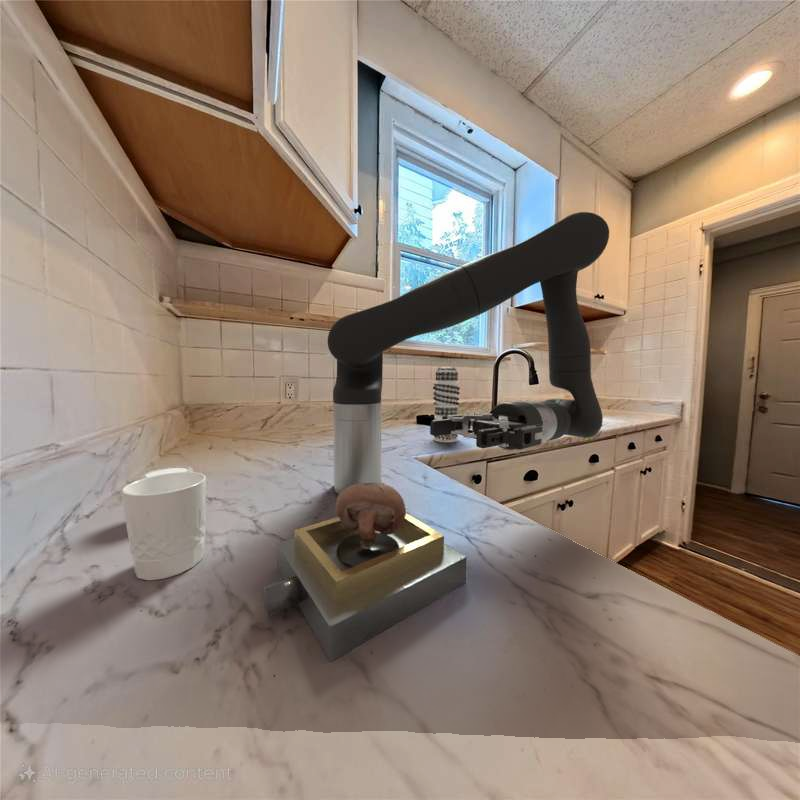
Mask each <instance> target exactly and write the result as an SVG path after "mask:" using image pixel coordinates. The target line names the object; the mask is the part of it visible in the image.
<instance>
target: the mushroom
mask: <svg viewBox="0 0 800 800" xmlns="http://www.w3.org/2000/svg"><path fill="white" fill-rule="evenodd" d="M335 512H336V516H338V517H339V519H340V520H341V523H342V524H343V526H344V527H346V528H347V529H349V530H352V531H353V530H357V529H359V536H360V540H361V541H360V543H361V545H362V547H363V548H364V549H368V550H369V548H370V547H371V545H372V544H374V542H375V540H376V533H375V530H376V531H378V532H380V533H381V534H384V535H390V534H392V533H394V532H396V531H397V530H398V529H399V528H400V527H401V526H402V524H403V522H404V519H405V516H406V513H407V511H406V503H405V501H404V499H403V497H402V495H401V494H400V493H399V492H398V491H397V490H396V489H395V488H394V487H393V486H390V485H389V484H386V483H382V482H381V483H359V484H355V485H351V486H349V487H348V488H346V489H345V490H343V491H342V492H341V493H340V494H338V496H337V499H336V500H335Z"/></svg>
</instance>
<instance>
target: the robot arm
mask: <svg viewBox="0 0 800 800" xmlns="http://www.w3.org/2000/svg"><path fill="white" fill-rule="evenodd" d="M609 239H610V228H609V225H608V223H607V221H606V220H605V218H603V217H602V216H600V215H599V214H597V213H593V212H589V211H579V212H575V213H572V214H568V215H567V216H565V217H563V218H561V220H559V221H557V222H555V223H554V224H552V225H550V226H549V227H547V228H545V229H544V230H542V231H540V232H538V233H536V234H535V235H533V236H531V237H529V238H528V239H525V240H523V241H521V242H520V243H517V244H515V245H511V246H509V247H506V248H504V249H501V250H499V251H496V252H493V253H490V254H488V255H485V256H482V257H480V258H477V259H475V260H473V261H470V262H467V263H465V264H463V265H460V266H458V267H456V268H454V269H451V270H449V271H447V272H444V273H443V274H441V275H438V276H436V277H435V278H433V279H431V280H429V281H426V282H424V283H423V284H421V285H419V286H417V287H415V288H413V289H411V290H409V291H407V292H405V293H404V294H402V295H400V296H398V297H396V298H394V299H392V300H389V301H386V302H383V303H381V304H378V305H374V306H371V307H368V308H366V309H363V310H360V311H357V312H353V313H349V314H347V315H345V316H342V317H340V318H339V319H338V320H337V321H336V322H335V323H334V324H333V325H332V327H331V328H330V329H329V332H328V336H327V348H328V350H329V352H330V354H331V355H332V356H333V357H334V359H335V360H336V379H335V384H334V387H333V390H332V410H333V411H332V414H333V415H332V416H333V420H332V421H333V423H332V424H333V442H332V443H333V487H334V492H335V493H336V494H338V495H339V494H340V493H341V492H342V491H343V490H345V489H346V488H348V487H349V486H351V485H355V484H359V483H382V389H383V369H384V368H383V364H384V362H383V360H384V359H383V357H384V355H383V354H384V353H383V352H385V351H387V350H389V349H391V348H393V347H394V346H396V345H398V344H400V343H401V342H404V341H407V340H409V339H411V338H415V337H418V336H422V335H426V334H428V333H434V332H437V331H441V330H444V329H448V328H451V327H454V326H457V325H460V324H462V323H464V322H466V321H469V320H471V319H473V318H475V317H477V316H480V315H482V314H484V313H486V312H488V311H490V310H492V309H493V308H496V307H497V306H499V305H501V304H503V303H504V302H506V301H508V300H509V299H511V298H512V297H514V296H516V295H518V294H519V293H522V292H523V291H524V290H526V289H528V288H529V287H532V286H533V285H535V284H538V283H539V284H540V288H541V294H542V299H543V306H544V313H545V318H546V329H547V341H548V342H547V343H548V344H547V345H548V371H549V372H548V373H549V374H548V375H549V376H548V377H549V383H550V385H551V386H553V387H554V388H557V389H561V390H565V391H567V392H569V393H570V394H571V396H572V397H573V399H567V398H566V399H564V398H562V399H561V398H550V399H546V400H543V401H534V400H522V401H521V400H520V401H508V402H507V401H505V402H501V403H498V404H496V405H495V406H494V407H493V408H492V409H491V410H490V412H489V413H484V412H483V413H480V414H471V413H461V414H458V413H457V415H444V416H442V420H434V419H433V420H431V421H430V426H429V434H430V435H431V436H433V437H434V436H439V435H446V434H458V435H461V436H462V437H463V438H465V439H473V438H474V439H476V440H475V442H476V443H475V446H476V448H480V449H482V450H483V449H488V448H493V447H498V448H501V449H502V450H506V451H514V450H517V451H519V450H525V449H529V448H531V447H535V446H539V445H541V444H542V443H545V442H548V441H554V440H557V439H560V438H561V437H563V436H572V437H576V438H577V437H579V438H585V439H586V438H588V439H589V438H594V436H596V435H598V433H599V432H600V430H601V428H602V426H603V412H602V409H601V406H600V403H599V400H598V396H597V394H596V391H595V390H596V389H595V388H594V384H593V378H592V372H591V371H592V370H591V368H592V367H591V366H592V363H591V362H592V361H591V360H592V358H591V356H592V355H591V352H592V351H591V341H590V337H589V331H588V330H587V327H586V324H585V321H584V318H583V317H582V314H581V311H580V307H579V303H578V297H577V282H578V281H577V280H578V275H579V272H580V271H582V270H584V269H586V268H588V267H589V266H591V265H592V264H593V263H595V262H596V261H597V260H598V259H599V258H600V256H601V255H602V254H603V253H604V251H605V249H606V247H607V246H608V243H609ZM471 427H472V430H471ZM469 430H471V431H472V432H469Z"/></svg>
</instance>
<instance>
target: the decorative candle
mask: <svg viewBox="0 0 800 800" xmlns="http://www.w3.org/2000/svg"><path fill="white" fill-rule="evenodd" d="M458 375H459V371H458V370H457V368H456V367H455V366H440V367H438V368H437V369H436V371H435V380H434V383H433V386H432V389H433V390H434V392H433V393H432V394H433V397H432V400H434V402H433V406H434V419H433V420H442V416H444V415H458V407H459V405H460V403H459V402H458V401H459V400H460V398H459V395H460V394H461V393H460V391H459V390H461V388H460V386H459V376H458ZM432 439H433V441H436V442H437V443H438V442H439V443H455V442H458V441H459V440H458V439H459V434H446V435H439V436H433V438H432Z"/></svg>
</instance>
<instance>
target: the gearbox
mask: <svg viewBox="0 0 800 800" xmlns="http://www.w3.org/2000/svg"><path fill="white" fill-rule="evenodd" d="M375 533H376V540H375V542H374V544H372V545H371V547H370V548H369V550H368V549H364V548H363V547H362V545H361V543H360V541H361V540H360V536H359V529H357V530H353V531H352V530H349V529H347V528H346V527H344V526H343V524H342V523H341V520H340V519H339V517H338V516H337V515H330V517H328V518H327V519H326V520H325V521H324V520H323V521H321V522H318V523H314V524H310V525H307V526H303V527H300V528H297V529H294V536H293V537H292V538H289V539H286V540H282V541H280V542H276V543H275V544H276V545H275V546H276V569H277V570H278V572H279V574H280V575H281V577H282V580H280V581H277V582H274V583H272V584H269V585H267V586H264V587H263V588H262V601H263V602H262V603H263V607H264V610H265V614H266V616H267V617H269V616H272V615H275V614H276V613H280V612H281V611H283V610H287V609H288V608H290V607H292V606H295V605H298V607H299V609H300V611H301V612H302V614H303V616H304V618H305V619H306V621H307V624H308V625H309V626H310V628H311V631H312V632H313V634H314V636H315V638H316V639H317V641H318V643H319V644H320V646H321V648H322V649H323V652H324V653H325V655H326V657H327V659H328V661H329V662H330V663H331V662H333V661H335V660H336V659H338V658H340V657H341V656H343V655H345V654H347V653H349V652H350V651H352V650H353V649H355V648H357V647H358V646H360V645H362V644H364V643H365V642H368V641H369V640H371V639H372V638H375V637H376V636H377V635H379V634H381V633H382V632H383V631H386V630H388V629H390V628H391V627H392V626H394V625H396V624H397V623H400V622H401V621H403V620H405V619H406V618H408V617H410V616H411V615H413V614H415V613H417V612H418V611H420V610H421V609H423V608H425V607H428V606H429V605H431V603H434V602H436V601H438V600H439V599H440V598H442V597H444V596H446V595H447V594H449V593H451V592H453V591H454V590H456V589H457V588H459V587H461V586H462V585H465V584H466V583H467V561H468V560H467V558H468V557H467V556H466V555H465V554H463V553H461V552H460V551H458V550H456V549H455V548H453V547H452V546H450V545H449V544H447V543H446V542H445V535H443V534H442V533H440V532H439V531H438V530H435V529H433V528H432V527H430V526H428V525H427V524H425V523H424V522H423V521H420V520H419V519H416V518H415V517H413V516H411V515H410V514H408V513H407V512H406V516H405V519H404V522H403V524H402V526H401V527H400V528H399V529H398V530H397V531H396V532H394V533H392V534H390V535H384V534H381V533H380V532H378V531H376V530H375Z"/></svg>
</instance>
